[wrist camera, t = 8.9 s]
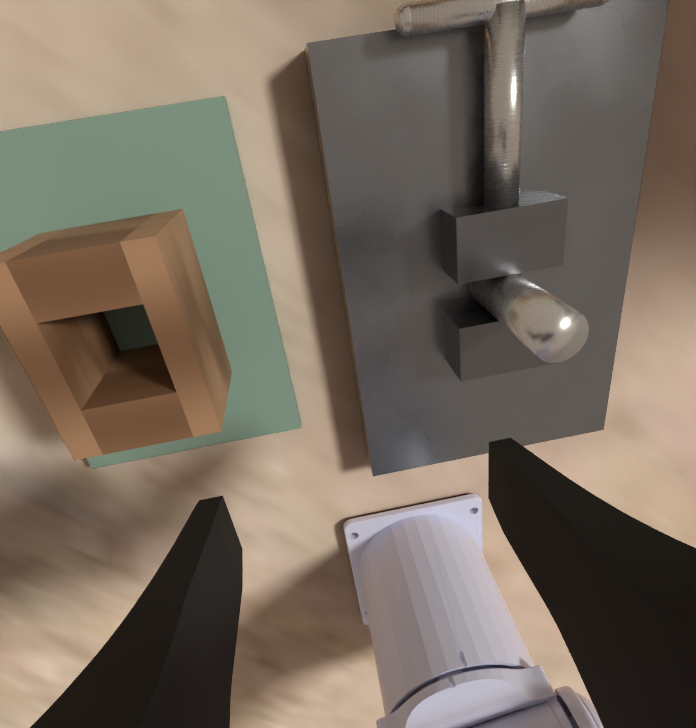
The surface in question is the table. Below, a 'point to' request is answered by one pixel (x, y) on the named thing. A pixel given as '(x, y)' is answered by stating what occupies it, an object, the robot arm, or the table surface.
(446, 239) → the vise
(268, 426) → the mat
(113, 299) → the sleeve block
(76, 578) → the table surface
